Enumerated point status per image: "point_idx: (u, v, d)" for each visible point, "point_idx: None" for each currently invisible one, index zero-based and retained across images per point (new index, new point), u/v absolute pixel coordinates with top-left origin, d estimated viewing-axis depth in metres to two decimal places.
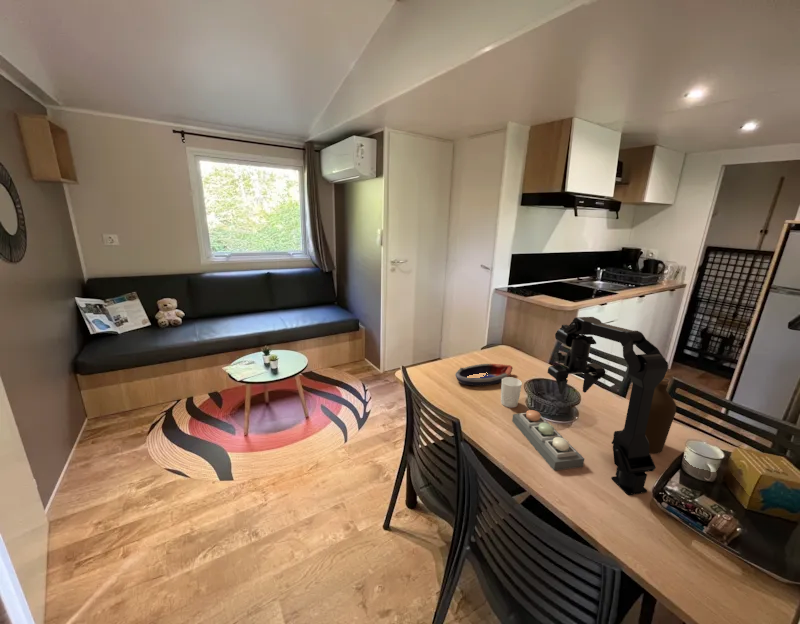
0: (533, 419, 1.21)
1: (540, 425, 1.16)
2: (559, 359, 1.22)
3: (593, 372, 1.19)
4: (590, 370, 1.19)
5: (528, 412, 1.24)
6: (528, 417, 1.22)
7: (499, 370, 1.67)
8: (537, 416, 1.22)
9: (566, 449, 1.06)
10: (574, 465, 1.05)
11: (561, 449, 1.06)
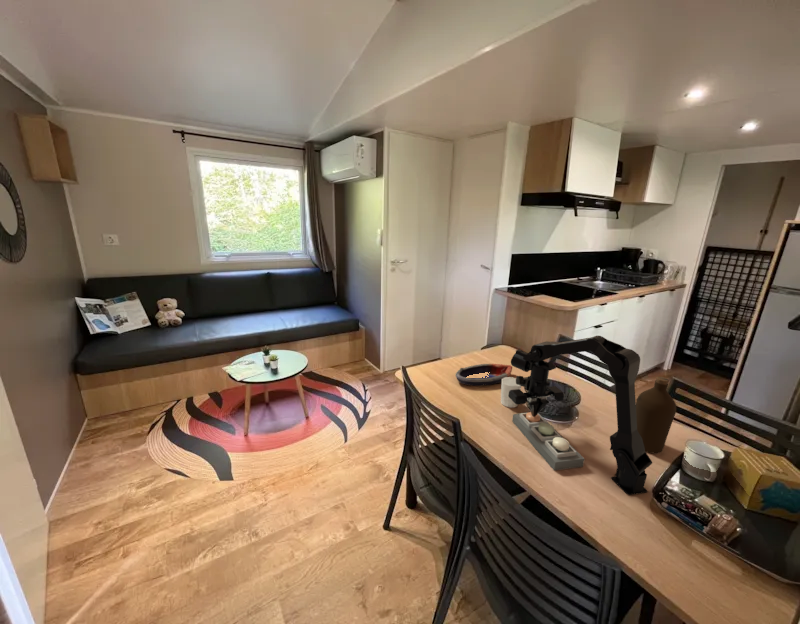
0: (533, 421, 1.21)
1: (540, 425, 1.16)
2: (520, 383, 1.24)
3: (542, 397, 1.20)
4: None
5: (528, 414, 1.24)
6: (528, 419, 1.23)
7: (499, 370, 1.67)
8: (537, 418, 1.22)
9: (566, 449, 1.06)
10: (574, 465, 1.05)
11: (561, 449, 1.06)
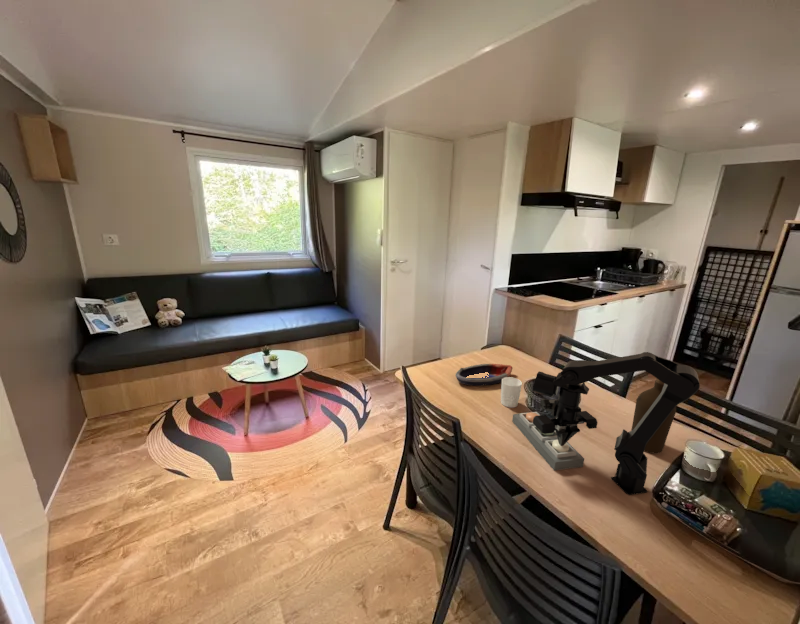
0: None
1: None
2: (546, 407, 1.09)
3: None
4: None
5: (528, 414, 1.24)
6: (528, 419, 1.23)
7: (499, 370, 1.67)
8: None
9: None
10: (574, 465, 1.05)
11: (561, 452, 1.06)
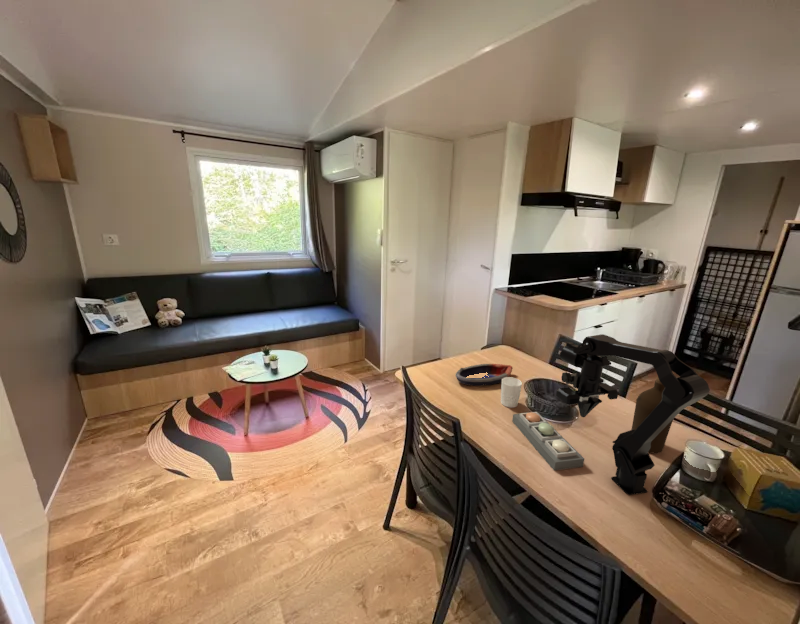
0: (533, 421, 1.22)
1: (540, 425, 1.16)
2: (568, 380, 1.12)
3: None
4: None
5: (528, 414, 1.24)
6: (528, 419, 1.23)
7: (499, 370, 1.67)
8: (537, 418, 1.22)
9: None
10: (574, 465, 1.05)
11: (561, 452, 1.06)
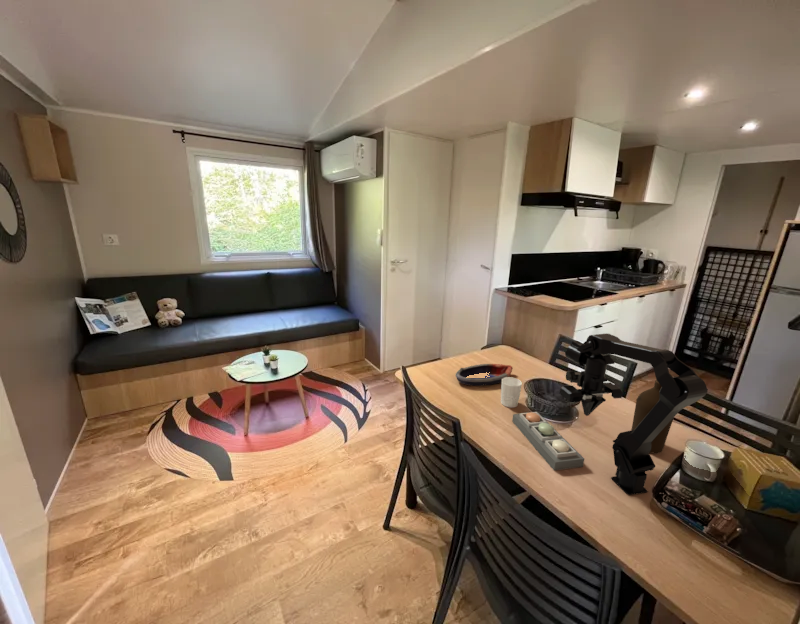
0: (533, 421, 1.22)
1: (540, 425, 1.16)
2: (572, 378, 1.13)
3: (597, 394, 1.09)
4: None
5: (528, 414, 1.24)
6: (528, 419, 1.23)
7: (499, 370, 1.67)
8: (537, 418, 1.22)
9: None
10: (574, 465, 1.05)
11: (561, 452, 1.06)
